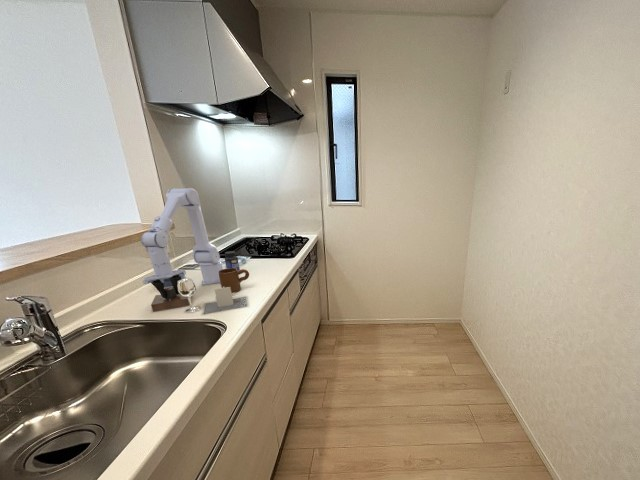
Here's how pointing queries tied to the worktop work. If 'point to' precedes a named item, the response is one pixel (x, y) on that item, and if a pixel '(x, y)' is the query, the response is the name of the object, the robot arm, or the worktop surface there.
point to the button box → (168, 283)
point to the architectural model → (224, 301)
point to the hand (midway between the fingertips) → (170, 295)
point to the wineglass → (187, 291)
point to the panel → (169, 302)
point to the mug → (232, 278)
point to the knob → (170, 292)
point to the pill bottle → (231, 260)
